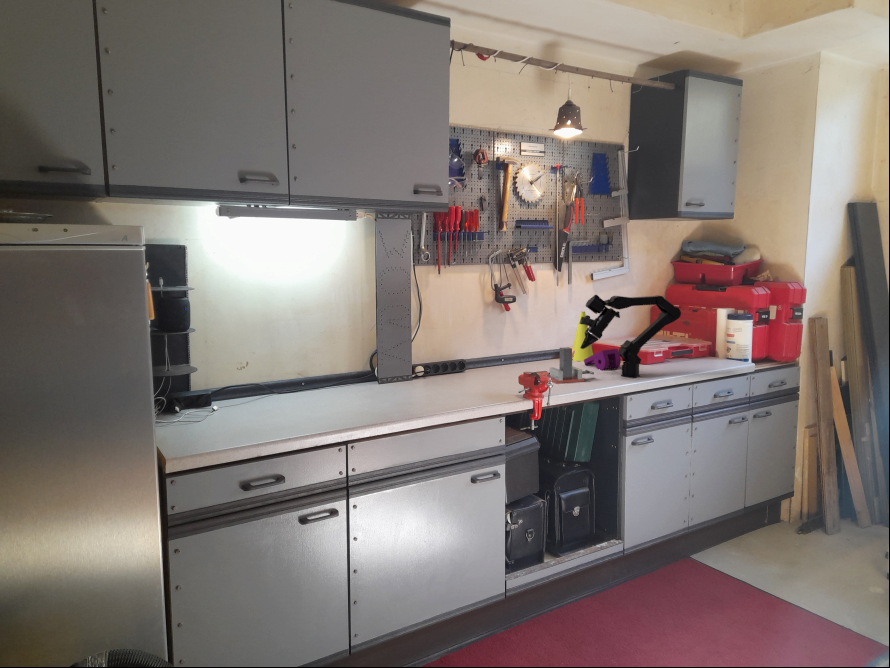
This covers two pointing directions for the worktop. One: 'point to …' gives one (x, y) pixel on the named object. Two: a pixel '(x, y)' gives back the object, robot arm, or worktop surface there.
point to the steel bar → (566, 362)
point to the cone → (579, 338)
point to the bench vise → (576, 377)
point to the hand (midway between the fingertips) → (581, 348)
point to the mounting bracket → (604, 359)
